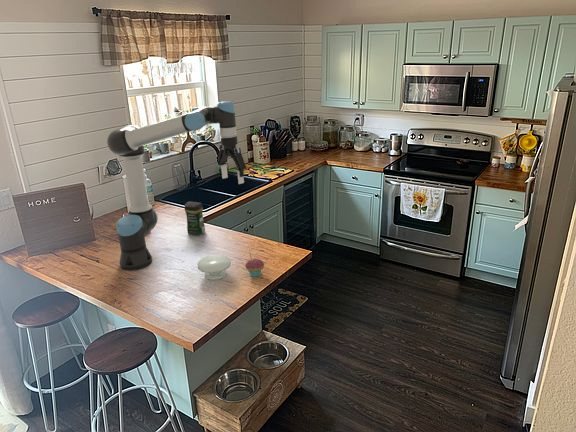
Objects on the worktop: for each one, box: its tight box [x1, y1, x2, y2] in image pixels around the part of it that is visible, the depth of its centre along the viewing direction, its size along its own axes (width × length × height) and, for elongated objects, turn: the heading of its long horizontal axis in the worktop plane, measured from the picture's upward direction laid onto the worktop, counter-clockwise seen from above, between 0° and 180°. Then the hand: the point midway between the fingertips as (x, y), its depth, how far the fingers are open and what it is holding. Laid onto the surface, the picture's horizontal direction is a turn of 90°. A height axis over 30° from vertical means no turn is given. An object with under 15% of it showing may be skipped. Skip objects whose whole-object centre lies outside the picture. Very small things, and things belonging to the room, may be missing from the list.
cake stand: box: [197, 254, 232, 281], centre depth 200 cm, size 15×15×6 cm
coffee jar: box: [184, 201, 206, 236], centre depth 244 cm, size 10×8×19 cm
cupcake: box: [245, 250, 265, 277], centre depth 198 cm, size 9×8×12 cm
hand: (233, 180), depth 208 cm, fingers open, 13 cm apart
